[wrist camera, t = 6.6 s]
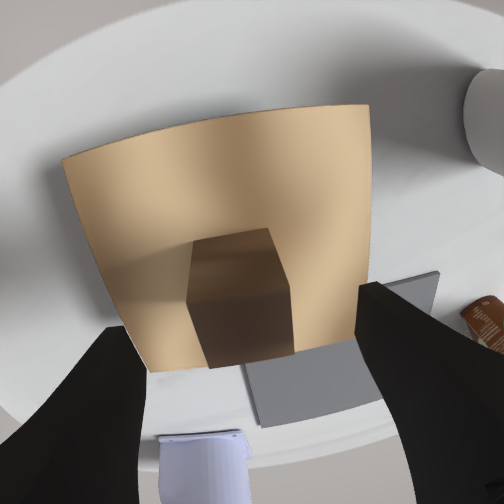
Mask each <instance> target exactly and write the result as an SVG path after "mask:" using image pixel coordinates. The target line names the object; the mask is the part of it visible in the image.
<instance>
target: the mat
mask: <svg viewBox="0 0 504 504" xmlns="http://www.w3.org/2000/svg"><path fill="white" fill-rule="evenodd" d="M439 276H440V273H439V272H438V271H435V272H431V273H428V274H424V275H420V276H416V277H412V278H408V279H405V280H401V281H397V282H393V283H389V284H384V286H385V287H387V288H388V289H390V290H392V291H393V292H395V293H396V294H398V295H399V296H401V297H402V298H404V299H405V300H407V301H408V302H410V303H411V304H413V305H414V306H416V307H417V308H419V309H420V310H422V311H423V312H425V313H426V314H428V315H430V312H431V308H432V305H433V301H434V297H435V293H436V289H437V285H438V281H439ZM245 366H246V370H247V374H248V378H249V382H250V386H251V390H252V394H253V398H254V402H255V405H256V409H257V413H258V417H259V421H260V424H261V428H267V427H272V426H278V425H283V424H289V423H294V422H298V421H303V420H308V419H312V418H316V417H320V416H324V415H328V414H332V413H336V412H340V411H344V410H347V409H351V408H354V407H357V406H361V405H364V404H367V403H370V402H374V401H377V400H380V399H383V397H382V395H381V393H380V391H379V389H378V387H377V385H376V383H375V381H374V379H373V377H372V375H371V373H370V371H369V369H368V367H367V365H366V363H365V361H364V359H363V356H362V354H361V351H360V349H359V346H358V343H357V340H356V338H353V339H349V340H345V341H341V342H337V343H333V344H329V345H325V346H320V347H316V348H311V349H307V350H302V351H297V352H295V355H290V356H285V357H280V358H275V359H270V360H264V361H258V362H253V363H247V364H245Z"/></svg>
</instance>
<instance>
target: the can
mask: <svg viewBox="0 0 504 504" xmlns="http://www.w3.org/2000/svg"><path fill="white" fill-rule="evenodd" d="M463 122H464V128H465V133H466V138H467V141H468V144H469V147H470V149H471V152H472V154H473V156H474V157H475V158H476V160H477V161H478V162H479V164H481V165H482V166H484V167H485V168H487V169H489V170H491V171H493V172H495V173H497V174H500V175H502V176H504V70H499V69H487V70H482V71H480V72H479V73H478V74H477V75H476V76H475V77H474V78H473V80H472V82H471V83H470V85H469V87H468V89H467V93H466V96H465V101H464V105H463Z"/></svg>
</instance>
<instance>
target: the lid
mask: <svg viewBox="0 0 504 504" xmlns="http://www.w3.org/2000/svg"><path fill="white" fill-rule="evenodd" d="M62 164H63V167H64V171H65V175H66V178H67V181H68V185H69V188H70V191H71V195H72V198H73V201H74V204H75V207H76V210H77V213H78V216H79V219H80V222H81V224H82V227H83V230H84V233H85V236H86V238H87V241H88V243H89V246H90V249H91V251H92V254H93V256H94V259H95V261H96V264H97V266H98V269H99V271H100V273H101V276H102V278H103V280H104V283H105V285H106V287H107V289H108V292H109V294H110V296H111V298H112V300H113V302H114V305H115V307H116V309H117V311H118V313H119V315H120V317H121V319H122V321H123V323H124V325H125V327H126V329H127V331H128V333H129V335H130V337H131V339H132V341H133V343H134V344H135V346H136V348H137V350H138V352H139V354H140V356H141V357H142V359H143V361H144V363H145V364H146V366H147V368H148V370H149V371H150V373H152V372H164V371H174V370H184V369H193V368H201V367H209V369H213V368H220V367H227V366H234V365H240V364H247V363H253V362H258V361H264V360H270V359H275V358H280V357H285V356H290V355H295V352H297V351H302V350H307V349H311V348H316V347H320V346H325V345H329V344H333V343H337V342H341V341H345V340H349V339H353V338H356V337H355V335H354V331H355V322H356V312H357V301H358V289H359V285H363V284H367V279H368V267H369V253H370V235H371V207H372V158H371V131H370V114H369V105H367V104H335V105H317V106H303V107H292V108H281V109H272V110H264V111H256V112H249V113H242V114H235V115H229V116H223V117H217V118H211V119H206V120H201V121H196V122H191V123H186V124H181V125H177V126H172V127H168V128H163V129H159V130H155V131H151V132H147V133H143V134H139V135H136V136H132V137H128V138H125V139H121V140H118V141H114V142H111V143H108V144H105V145H101V146H98V147H95V148H92V149H89V150H86V151H83V152H80V153H77V154H74V155H71V156H69V157H67V158H65V159H63V160H62Z"/></svg>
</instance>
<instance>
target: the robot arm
mask: <svg viewBox="0 0 504 504" xmlns="http://www.w3.org/2000/svg"><path fill="white" fill-rule="evenodd" d="M354 335H355V337H356V340H357V343H358V346H359V349H360V351H361V354H362V356H363V359H364V361H365V363H366V365H367V367H368V369H369V371H370V373H371V375H372V377H373V379H374V381H375V383H376V385H377V387H378V389H379V391H380V393H381V395H382V397H383V399H384V401H385V403H386V405H387V407H388V409H389V411H390V413H391V415H392V417H393V420H394V422H395V424H396V427H397V430H398V433H399V436H400V438H401V442H402V445H403V448H404V451H405V455H406V458H407V462H408V465H409V469H410V473H411V477H412V482H413V486H414V491H415V495H416V502H417V504H504V355H503V354H501V353H499V352H496V351H494V350H492V349H489V348H487V347H485V346H483V345H481V344H479V343H477V342H475V341H473V340H471V339H469V338H467V337H465V336H463V335H461V334H460V333H458V332H456V331H455V330H453V329H451V328H449V327H448V326H446V325H444V324H442V323H441V322H439V321H438V320H436V319H434V318H433V317H431V316H430V315H428V314H426V313H425V312H423V311H422V310H420V309H419V308H417V307H416V306H414V305H413V304H411V303H410V302H408V301H407V300H405V299H404V298H402V297H401V296H399V295H398V294H396V293H395V292H393V291H392V290H390V289H388V288H387V287H385V286H384V285H382V284H380V283H379V282H377V281H376V282H371V283H367V284H363V285H359V289H358V301H357V312H356V322H355V331H354ZM146 373H147V368H146V367H145V365H144V363H143V361H142V360H141V358H140V356H139V354H138V352H137V351H136V349H135V347H134V345H133V343H132V341H131V339H130V337H129V335H128V334H127V332H126V330H125V328H124V326H115V327H107V328H106V329H105V330H104V331H103V332H102V333H101V334H100V335H99V337H98V338H97V339H96V340H95V341H94V343H93V344H92V345H91V346H90V348H89V349H88V350H87V351H86V353H85V354H84V355H83V356H82V358H81V359H80V360H79V361H78V363H77V364H76V365H75V366H74V368H73V369H72V370H71V372H70V373H69V374H68V375H67V377H66V378H65V379H64V380H63V381H62V382H61V384H60V385H59V386H58V387H57V388H56V390H55V391H54V392H53V393H52V394H51V396H50V397H49V398H48V399H47V400H46V402H45V403H44V404H43V405H42V406H41V407H40V408H39V409H38V410H37V411H36V412H35V413H34V414H33V415H32V416H31V417H30V418H29V419H28V420H27V421H26V422H25V423H24V424H23V425H22V426H21V427H20V428H19V429H18V430H17V431H16V432H14V433H13V434H12V435H11V436H10V437H9V438H8V439H7V440H5V441H4V442H3V443H2V444H1V445H0V504H139V494H138V493H139V492H138V453H139V445H140V437H141V429H142V422H143V415H144V407H145V400H146ZM158 441H159V442H160V459H159V483H158V485H159V486H158V488H159V495H160V500H161V503H162V504H252V500H251V492H250V485H249V476H248V468H247V460H246V459H249V458H252V453H251V450H250V448H249V445H248V443H247V440H246V438H245V435H244V433H243V431H241V430H237V431H229V432H220V433H209V434H197V435H181V436H160V437H158Z"/></svg>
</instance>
